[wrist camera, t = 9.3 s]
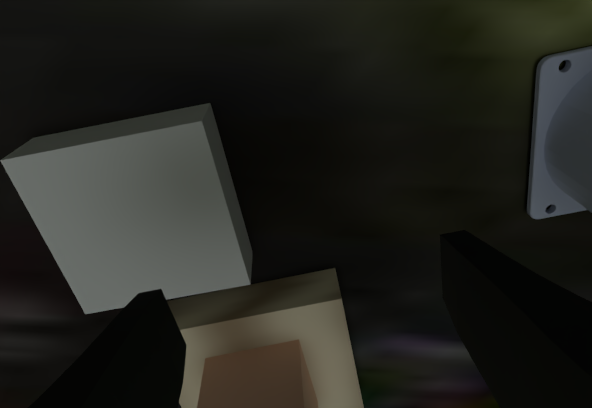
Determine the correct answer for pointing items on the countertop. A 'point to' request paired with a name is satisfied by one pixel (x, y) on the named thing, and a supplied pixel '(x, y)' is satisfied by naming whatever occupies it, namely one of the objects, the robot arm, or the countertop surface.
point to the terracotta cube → (258, 379)
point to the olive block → (273, 331)
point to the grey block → (136, 207)
